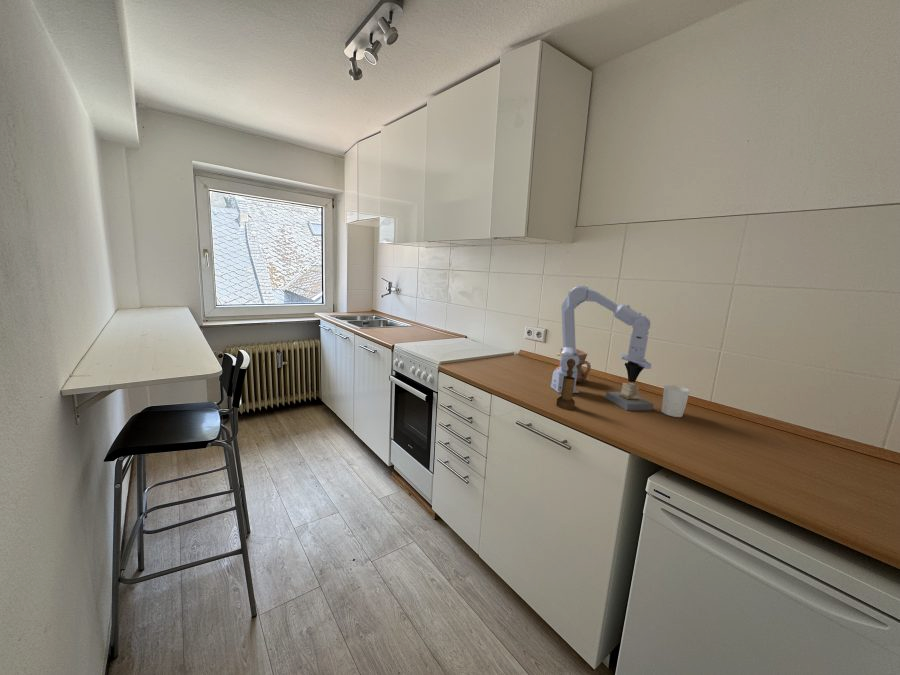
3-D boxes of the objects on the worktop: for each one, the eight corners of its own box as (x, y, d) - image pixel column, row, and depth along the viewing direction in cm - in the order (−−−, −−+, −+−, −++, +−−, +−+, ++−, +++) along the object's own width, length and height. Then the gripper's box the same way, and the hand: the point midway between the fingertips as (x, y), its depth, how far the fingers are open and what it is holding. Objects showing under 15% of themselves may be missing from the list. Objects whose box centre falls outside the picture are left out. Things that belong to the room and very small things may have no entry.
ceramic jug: (545, 376, 172) (548, 347, 169) (565, 373, 180) (569, 345, 177) (576, 388, 157) (581, 357, 154) (596, 384, 165) (601, 354, 162)
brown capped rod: (575, 410, 130) (582, 362, 127) (557, 408, 131) (563, 360, 128) (573, 404, 136) (579, 358, 133) (555, 401, 137) (561, 356, 134)
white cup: (660, 414, 132) (665, 388, 130) (659, 408, 139) (663, 383, 137) (685, 419, 128) (690, 393, 126) (683, 413, 135) (688, 387, 133)
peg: (626, 405, 139) (629, 386, 137) (619, 402, 143) (622, 382, 141) (635, 405, 139) (639, 386, 138) (628, 402, 143) (631, 382, 142)
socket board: (626, 410, 134) (627, 404, 133) (605, 397, 146) (606, 392, 146) (652, 410, 136) (653, 403, 135) (629, 397, 148) (630, 392, 148)
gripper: (660, 352, 131) (654, 387, 133) (633, 343, 145) (628, 376, 147) (643, 351, 129) (637, 387, 132) (618, 343, 143) (613, 376, 146)
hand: (631, 381), depth 139 cm, fingers closed
